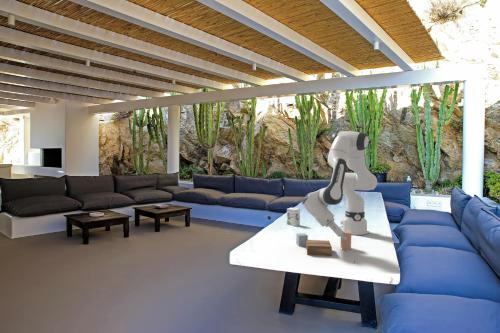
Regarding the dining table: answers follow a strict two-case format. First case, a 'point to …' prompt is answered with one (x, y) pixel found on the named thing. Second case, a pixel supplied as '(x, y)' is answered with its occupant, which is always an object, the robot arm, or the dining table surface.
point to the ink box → (293, 216)
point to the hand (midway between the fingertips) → (343, 236)
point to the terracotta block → (346, 241)
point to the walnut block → (318, 248)
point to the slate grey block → (301, 239)
